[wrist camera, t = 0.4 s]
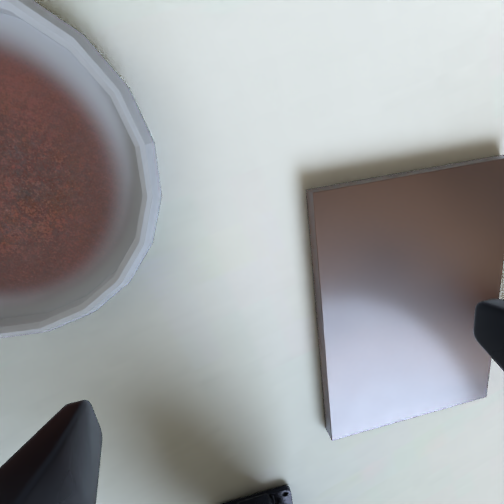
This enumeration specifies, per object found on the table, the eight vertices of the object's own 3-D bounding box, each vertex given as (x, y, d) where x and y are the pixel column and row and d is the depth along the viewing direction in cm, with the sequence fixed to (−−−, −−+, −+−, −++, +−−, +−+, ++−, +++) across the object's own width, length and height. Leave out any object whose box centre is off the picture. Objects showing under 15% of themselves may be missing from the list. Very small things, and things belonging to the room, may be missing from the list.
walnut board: (475, 387, 30) (486, 397, 29) (325, 429, 28) (331, 441, 27) (501, 154, 23) (517, 155, 22) (305, 189, 21) (312, 192, 20)
